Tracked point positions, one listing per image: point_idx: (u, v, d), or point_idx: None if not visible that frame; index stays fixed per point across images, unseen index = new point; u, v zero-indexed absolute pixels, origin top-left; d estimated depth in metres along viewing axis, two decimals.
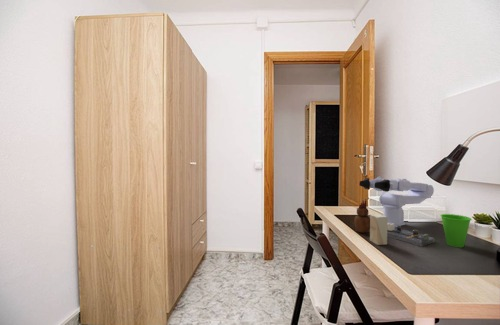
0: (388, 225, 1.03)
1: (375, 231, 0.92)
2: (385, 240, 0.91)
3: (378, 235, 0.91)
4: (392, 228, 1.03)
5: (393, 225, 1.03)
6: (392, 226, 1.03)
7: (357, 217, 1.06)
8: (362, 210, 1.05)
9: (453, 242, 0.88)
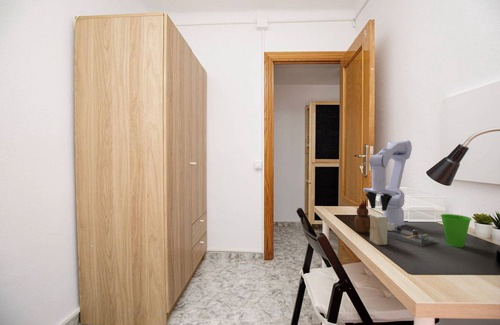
0: (388, 225, 1.03)
1: (375, 231, 0.92)
2: (385, 240, 0.91)
3: (378, 235, 0.91)
4: (392, 228, 1.03)
5: (393, 225, 1.03)
6: (392, 226, 1.03)
7: (357, 217, 1.06)
8: (362, 210, 1.05)
9: (453, 242, 0.88)
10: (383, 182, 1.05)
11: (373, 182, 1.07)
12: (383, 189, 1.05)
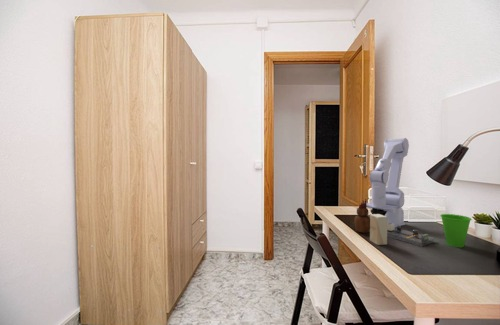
0: (388, 225, 1.03)
1: (375, 231, 0.92)
2: (385, 240, 0.91)
3: (378, 235, 0.91)
4: (392, 228, 1.03)
5: (393, 225, 1.03)
6: (392, 226, 1.03)
7: (357, 217, 1.06)
8: (362, 210, 1.05)
9: (453, 242, 0.88)
10: (383, 198, 1.05)
11: (373, 198, 1.07)
12: (383, 205, 1.05)
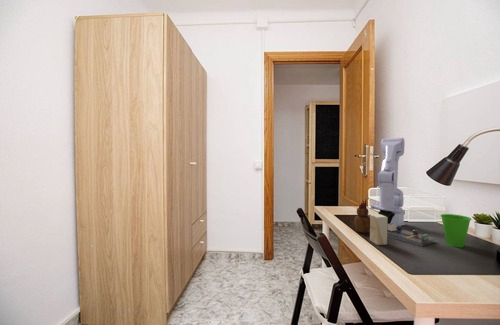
0: (389, 225, 1.02)
1: (375, 231, 0.92)
2: (385, 240, 0.91)
3: (378, 235, 0.91)
4: (393, 228, 1.02)
5: (394, 225, 1.02)
6: (393, 226, 1.02)
7: (357, 217, 1.06)
8: (362, 210, 1.05)
9: (453, 242, 0.88)
10: (391, 200, 1.02)
11: (381, 199, 1.04)
12: (391, 207, 1.02)
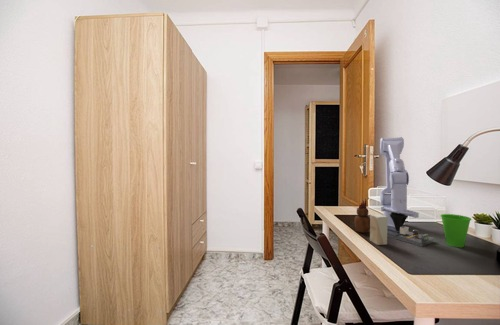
0: (402, 229, 0.98)
1: (375, 231, 0.92)
2: (385, 240, 0.91)
3: (378, 235, 0.91)
4: (406, 232, 0.97)
5: (407, 229, 0.98)
6: (406, 230, 0.97)
7: (357, 217, 1.06)
8: (362, 210, 1.05)
9: (453, 242, 0.88)
10: (404, 202, 0.97)
11: (393, 201, 0.99)
12: (404, 209, 0.97)
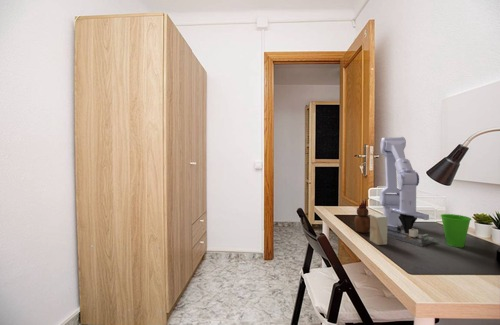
0: (411, 231, 0.95)
1: (375, 231, 0.92)
2: (385, 240, 0.91)
3: (378, 235, 0.91)
4: (415, 234, 0.94)
5: (416, 231, 0.95)
6: (416, 232, 0.94)
7: (357, 217, 1.06)
8: (362, 210, 1.05)
9: (453, 242, 0.88)
10: (414, 203, 0.94)
11: (402, 203, 0.96)
12: (414, 211, 0.94)
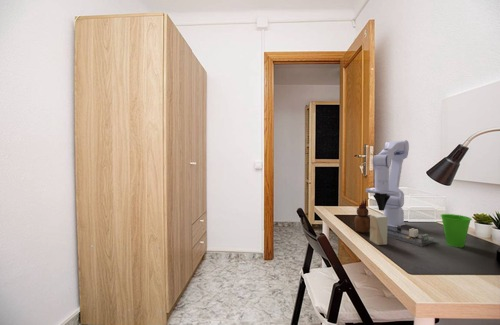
0: (411, 231, 0.95)
1: (375, 231, 0.92)
2: (385, 240, 0.91)
3: (378, 235, 0.91)
4: (415, 234, 0.94)
5: (416, 231, 0.95)
6: (416, 232, 0.94)
7: (357, 217, 1.06)
8: (362, 210, 1.05)
9: (453, 242, 0.88)
10: (386, 182, 1.04)
11: (376, 182, 1.06)
12: (386, 190, 1.04)
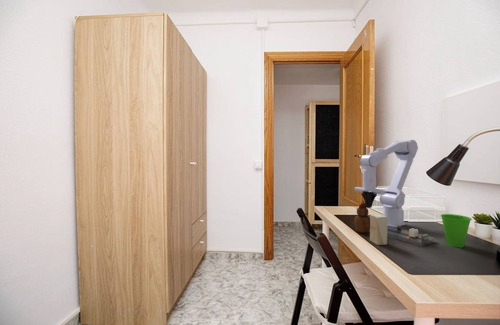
0: (411, 231, 0.95)
1: (375, 231, 0.92)
2: (385, 240, 0.91)
3: (378, 235, 0.91)
4: (415, 234, 0.94)
5: (416, 231, 0.95)
6: (416, 232, 0.94)
7: (357, 217, 1.06)
8: (362, 210, 1.05)
9: (453, 242, 0.88)
10: (373, 181, 1.09)
11: (364, 181, 1.11)
12: (373, 188, 1.09)
